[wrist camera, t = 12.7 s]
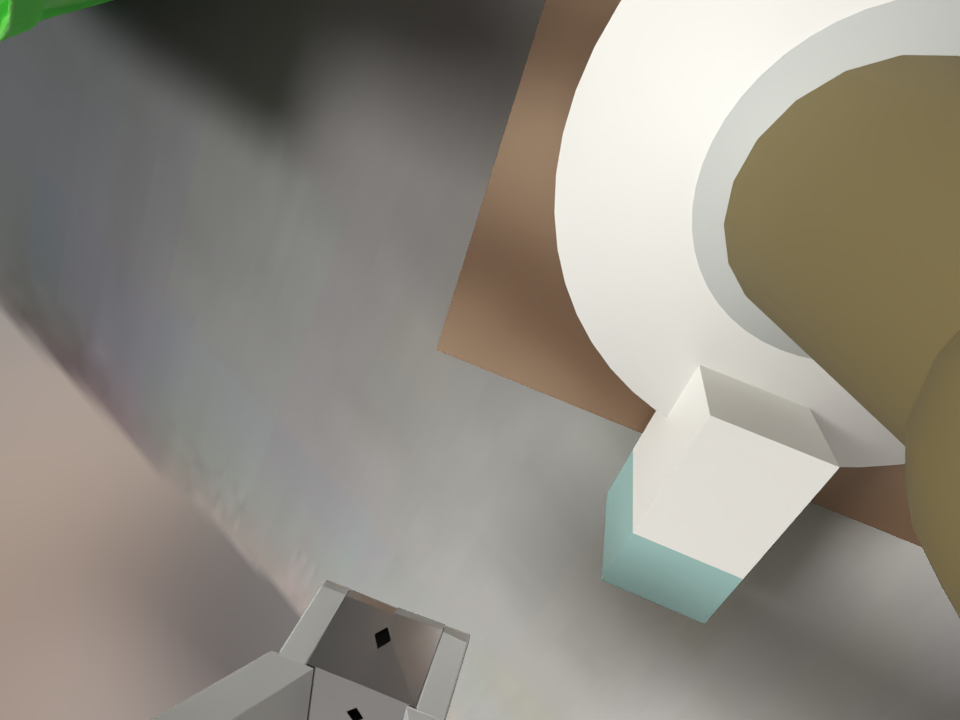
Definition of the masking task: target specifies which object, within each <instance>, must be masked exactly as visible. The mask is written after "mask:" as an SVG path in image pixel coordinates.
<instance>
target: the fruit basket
mask: <svg viewBox="0 0 960 720" xmlns="http://www.w3.org/2000/svg"><path fill="white" fill-rule="evenodd" d="M109 1H113V0H0V41H2V40H5V39H7V38H9V37H12V36H15V35H17V34H20V33H22V32H25V31H28V30H30V29H31V28H33V27H34V26H35V25H37V23H38V22H39V21H41V20H44V19H48V18H51V17H54V16H58V15H62V14H65V13H69V12H73V11H77V10H80V9H84V8H88V7H91V6H95V5H99V4H102V3H106V2H109Z"/></svg>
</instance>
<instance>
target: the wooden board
mask: <svg viewBox="0 0 960 720" xmlns="http://www.w3.org/2000/svg"><path fill="white" fill-rule="evenodd" d="M620 2H621V0H546V1H545V4H544V7H543V10H542V13H541V17H540V20H539V23H538V26H537V29H536V33H535V36H534V39H533V42H532V45H531V49H530V52H529V55H528V58H527V61H526V65H525V68H524V71H523V74H522V77H521V81H520V84H519V87H518V90H517V93H516V97H515V100H514V103H513V106H512V109H511V113H510V116H509V119H508V122H507V125H506V129H505V132H504V135H503V138H502V141H501V145H500V148H499V151H498V154H497V157H496V161H495V164H494V167H493V170H492V173H491V177H490V180H489V183H488V186H487V189H486V193H485V196H484V199H483V202H482V205H481V209H480V212H479V215H478V218H477V221H476V225H475V228H474V231H473V234H472V237H471V241H470V244H469V247H468V250H467V253H466V257H465V260H464V263H463V266H462V270H461V273H460V276H459V279H458V282H457V286H456V289H455V292H454V295H453V298H452V302H451V305H450V308H449V311H448V314H447V318H446V321H445V324H444V327H443V330H442V334H441V337H440V340H439V343H438V346H437V350H438V351H441V352H443V353H446V354H448V355H451V356H453V357H456V358H458V359H461V360H463V361H465V362H468V363H470V364H473V365H475V366H478V367H480V368H483V369H485V370H488V371H490V372H493V373H495V374H497V375H500V376H502V377H505V378H507V379H510V380H512V381H515V382H517V383H520V384H522V385H525V386H527V387H529V388H532V389H534V390H537V391H539V392H542V393H544V394H547V395H549V396H552V397H554V398H557V399H559V400H562V401H564V402H566V403H569V404H571V405H574V406H576V407H579V408H581V409H584V410H586V411H589V412H591V413H594V414H596V415H598V416H601V417H603V418H606V419H608V420H611V421H613V422H616V423H618V424H621V425H623V426H626V427H628V428H630V429H633V430H635V431H638V432H640V433H643V432H644V430H645V429H646V427H647V425H648V423H649V422H650V420H651V418H652V417H653V415H654V413H655V412H656V410H655V409H654V408H652V407H651V406H650V405H649V404H647V403H646V402H645V401H644V400H642V399H641V398H640V397H639V396H638V395H636V394H635V393H634V392H633V391H632V390H631V389H630V388H629V387H628V386H627V385H626V384H625V383H624V382H623V381H622V380H621V379H620V378H619V377H618V376H617V375H616V374H615V373H614V371H613V370H612V369H611V368H610V367H609V365H608V364H607V363H606V361H605V360H604V359H603V357H602V356H601V354H600V353H599V352H598V350H597V349H596V348H595V346H594V345H593V343H592V342H591V340H590V338H589V336H588V334H587V333H586V331H585V329H584V327H583V325H582V323H581V321H580V319H579V318H578V316H577V314H576V311H575V308H574V306H573V303H572V300H571V298H570V295H569V292H568V290H567V287H566V284H565V280H564V276H563V272H562V267H561V263H560V258H559V254H558V249H557V238H556V226H555V215H554V209H555V186H556V171H557V165H558V159H559V154H560V148H561V142H562V136H563V132H564V128H565V125H566V121H567V118H568V115H569V111H570V108H571V105H572V101H573V98H574V95H575V91H576V89H577V86H578V84H579V82H580V79H581V77H582V75H583V72H584V70H585V68H586V65H587V63H588V61H589V58H590V56H591V54H592V52H593V49H594V47H595V45H596V43H597V42H598V40H599V38H600V36H601V35H602V33H603V31H604V29H605V28H606V26H607V24H608V22H609V21H610V19H611V17H612V15H613V14H614V12H615V10H616V8H617V7H618V5H619V3H620ZM810 502H813V503H815V504H818V505H820V506H822V507H825V508H827V509H830V510H832V511H835V512H837V513H840V514H842V515H845V516H847V517H850V518H852V519H854V520H857V521H859V522H862V523H864V524H867V525H869V526H872V527H874V528H877V529H879V530H882V531H884V532H886V533H889V534H891V535H894V536H896V537H899V538H901V539H904V540H906V541H909V542H911V543H914V544H916V545H918V546H921V544H920V542H919V540H918V538H917V536H916V534H915V532H914V530H913V527H912V521H911V516H910V510H909V505H908V500H907V494H906V489H905V464H900V465H887V466H872V467H840V468H839V469H838V470H837V471H836V472H835V473H834V475H833V476H832V477H831V478H830V479H829V480H828V482H827V483H826V484H825V485H824V486H823V487H822V488H821V490H820V491H819V492H818V493H817V494H816V495H815V497H814V498H813V499H812V500H811V501H810ZM921 547H922V546H921Z"/></svg>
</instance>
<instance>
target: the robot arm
mask: <svg viewBox="0 0 960 720" xmlns="http://www.w3.org/2000/svg"><path fill="white" fill-rule="evenodd" d="M444 627H445V628H444ZM469 639H470V634H467V633H464V632H462V631H459V630H456V629H453V628H450V627H447V626H445V624H442V623H440V622H437V621H434V620H431V619H429V618H426V617H423V616H420V615H418V614H415V613H412V612H409V611H406V610H404V609H401V608H396V607H394V606H391V605H389V604H386V603H384V602H381V601H379V600H376V599H374V598H371V597H369V596H366V595H364V594H361V593H359V592H356V591H354V590H351V589H349V588H347V587H344V586H341V585H339V584H336V583H334V582H331V581H328V580H327V581H326V582H325V583H324V584H323V585H322V586H321V587H320V588H319V590H318V591H317V593H316V595H315V596H314V598H313V599H312V601H311V603H310V604H309V606H308V607H307V609H306V611H305V612H304V614H303V615H302V617H301V618H300V620H299V622H298V623H297V625H296V626H295V628H294V630H293V631H292V633H291V634H290V636H289V638H288V639H287V641H286V642H285V644H284V645H283V647H282V649H281V650H280V652H279V653H276V652H273V651H270V652H268V653H267V654H265V655H263V656H261V657H260V658H258V659H256V660H254V661H253V662H251V663H249V664H247V665H246V666H244V667H242V668H240V669H239V670H237V671H235V672H233V673H232V674H230V675H228V676H226V677H225V678H223V679H221V680H219V681H218V682H216V683H214V684H212V685H211V686H209V687H207V688H205V689H204V690H202V691H200V692H198V693H197V694H195V695H193V696H191V697H190V698H188V699H186V700H184V701H183V702H181V703H179V704H177V705H176V706H174V707H172V708H170V709H169V710H167V711H165V712H163V713H162V714H160V715H158V716H157V717H155V718H153V719H151V720H446V717H447V713H448V710H449V707H450V703H451V700H452V697H453V693H454V690H455V687H456V683H457V680H458V677H459V673H460V670H461V667H462V663H463V660H464V657H465V653H466V650H467V647H468V643H469Z"/></svg>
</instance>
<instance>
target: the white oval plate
mask: <svg viewBox="0 0 960 720" xmlns="http://www.w3.org/2000/svg"><path fill="white" fill-rule="evenodd" d="M900 55H942V56H960V0H621V2H620V3H619V5H618V7H617V8H616V10H615V12H614V14H613V15H612V17H611V19H610V21H609V22H608V24H607V26H606V28H605V29H604V31H603V33H602V35H601V36H600V38H599V40H598V42H597V43H596V45H595V47H594V49H593V52H592V54H591V56H590V58H589V61H588V63H587V65H586V68H585V70H584V72H583V75H582V77H581V79H580V82H579V84H578V86H577V89H576V91H575V95H574V98H573V101H572V105H571V108H570V111H569V115H568V118H567V121H566V125H565V128H564V132H563V136H562V142H561V148H560V154H559V159H558V165H557V171H556V186H555V209H554V215H555V226H556V238H557V249H558V254H559V258H560V263H561V267H562V272H563V276H564V280H565V284H566V287H567V290H568V292H569V295H570V298H571V300H572V303H573V306H574V308H575V311H576V314H577V316H578V318H579V319H580V321H581V323H582V325H583V327H584V329H585V331H586V333H587V334H588V336H589V338H590V340H591V342H592V343H593V345H594V346H595V348H596V349H597V350H598V352H599V353H600V354H601V356H602V357H603V359H604V360H605V361H606V363H607V364H608V365H609V367H610V368H611V369H612V370H613V371H614V373H615V374H616V375H617V376H618V377H619V378H620V379H621V380H622V381H623V382H624V383H625V384H626V385H627V386H628V387H629V388H630V389H631V390H632V391H633V392H634V393H635V394H636V395H638V396H639V397H640V398H641V399H642V400H644V401H645V402H646V403H647V404H649V405H650V406H651V407H652V408H654V409H655V410H656V412H655V413H654V415H653V417H652V418H651V420H650V422H649V423H648V425H647V427H646V429H645V430H644V432H643V434H642V435H641V437H640V439H639V440H638V442H637V444H636V445H635V447H634V449H633V450H632V452H631V454H630V456H629V457H628V459H627V461H626V462H625V464H624V466H623V467H622V469H621V471H620V472H619V474H618V476H617V477H616V479H615V481H614V483H613V484H612V486H611V488H610V489H609V491H608V493H607V503H606V519H605V534H604V549H603V565H602V581H604V582H607V583H609V584H611V585H614V586H616V587H618V588H621V589H623V590H626V591H628V592H630V593H633V594H635V595H637V596H640V597H642V598H644V599H647V600H649V601H651V602H654V603H656V604H658V605H661V606H663V607H665V608H668V609H670V610H673V611H675V612H677V613H680V614H682V615H684V616H687V617H689V618H691V619H694V620H696V621H698V622H701V623H703V624H705V622H706V621H707V620H708V619H709V618H710V617H711V615H712V614H713V613H714V612H715V611H716V610H717V609H718V607H719V606H720V605H721V604H722V603H723V602H724V600H725V599H726V598H727V597H728V596H729V595H730V594H731V592H732V591H733V590H734V589H735V588H736V587H737V585H738V584H739V583H740V582H741V581H742V580H743V579H744V577H745V576H746V575H747V574H748V573H749V572H750V570H751V569H752V568H753V567H754V566H755V565H756V564H757V562H758V561H759V560H760V559H761V558H762V557H763V555H764V554H765V553H766V552H767V551H768V550H769V548H770V547H771V546H772V545H773V544H774V543H775V542H776V540H777V539H778V538H779V537H780V536H781V535H782V533H783V532H784V531H785V530H786V529H787V528H788V527H789V525H790V524H791V523H792V522H793V521H794V520H795V518H796V517H797V516H798V515H799V514H800V513H801V512H802V510H803V509H804V508H805V507H806V506H807V505H808V503H809V502H810V501H811V500H812V499H813V498H814V497H815V495H816V494H817V493H818V492H819V491H820V490H821V488H822V487H823V486H824V485H825V484H826V483H827V482H828V480H829V479H830V478H831V477H832V476H833V475H834V473H835V472H836V471H837V470H838V469H839V468H840V467H872V466H887V465H900V464H905V446H904V445H903V444H902V443H901V442H900V441H899V440H898V439H897V438H896V437H895V436H894V435H893V434H892V433H891V432H889V431H888V430H887V429H886V428H885V427H884V426H883V425H882V424H881V423H880V422H879V421H878V420H877V419H876V418H875V417H874V416H872V415H871V414H870V413H869V412H868V411H867V410H866V409H865V408H864V407H863V406H862V405H861V404H860V403H859V402H858V401H857V400H856V399H854V398H853V397H852V396H851V395H850V394H849V393H848V392H847V391H846V390H845V389H844V388H843V387H842V386H841V385H840V384H839V383H837V382H836V381H835V380H834V379H833V378H832V377H831V376H830V375H829V374H828V373H827V372H826V371H825V370H824V369H823V368H822V367H820V366H819V365H818V364H817V363H816V362H815V361H814V360H813V359H812V358H811V357H810V356H809V355H808V354H807V353H806V352H805V351H803V350H802V349H801V348H800V347H799V346H798V345H797V344H796V343H795V342H794V341H793V340H792V339H791V338H790V337H789V336H788V335H786V334H785V333H784V332H783V331H782V330H781V329H780V328H779V327H778V326H777V325H776V324H775V323H774V322H773V321H772V320H771V319H769V318H768V317H767V316H766V315H765V314H764V313H763V312H762V311H761V310H760V309H759V308H758V307H757V306H756V305H755V304H754V303H753V302H751V301H750V300H749V299H748V298H747V297H746V296H745V294H744V292H743V290H742V288H741V286H740V284H739V283H738V281H737V279H736V277H735V275H734V273H733V271H732V269H731V267H730V266H729V264H728V256H727V248H726V240H725V231H724V221H725V216H726V212H727V207H728V203H729V198H730V194H731V189H732V185H733V181H734V179H735V178H736V176H737V174H738V172H739V171H740V169H741V167H742V165H743V164H744V162H745V160H746V158H747V157H748V155H749V153H750V151H751V150H752V148H753V146H754V144H755V142H756V141H757V139H758V138H759V137H760V136H761V135H762V134H763V133H764V132H765V131H766V130H767V129H768V128H769V127H770V126H771V125H772V124H773V123H774V122H775V121H776V120H777V119H778V118H779V117H780V116H781V115H782V114H783V113H784V112H785V111H786V110H787V109H788V108H789V107H790V106H791V105H792V104H793V103H794V102H795V101H796V100H798V99H799V98H801V97H803V96H804V95H806V94H808V93H809V92H811V91H813V90H814V89H816V88H818V87H819V86H821V85H823V84H825V83H826V82H828V81H830V80H831V79H833V78H835V77H836V76H838V75H840V74H841V73H843V72H845V71H847V70H851V69H854V68H858V67H861V66H865V65H868V64H872V63H875V62H879V61H882V60H886V59H889V58H893V57H897V56H900Z"/></svg>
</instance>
